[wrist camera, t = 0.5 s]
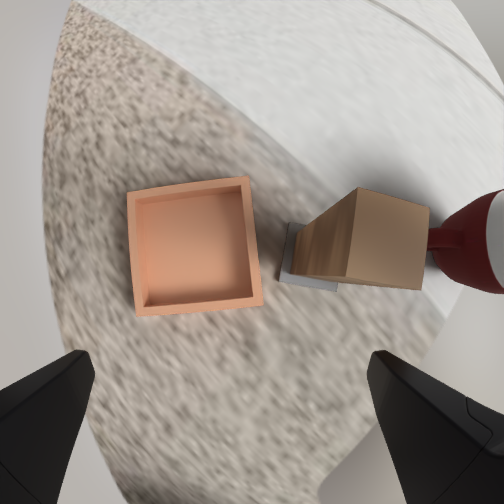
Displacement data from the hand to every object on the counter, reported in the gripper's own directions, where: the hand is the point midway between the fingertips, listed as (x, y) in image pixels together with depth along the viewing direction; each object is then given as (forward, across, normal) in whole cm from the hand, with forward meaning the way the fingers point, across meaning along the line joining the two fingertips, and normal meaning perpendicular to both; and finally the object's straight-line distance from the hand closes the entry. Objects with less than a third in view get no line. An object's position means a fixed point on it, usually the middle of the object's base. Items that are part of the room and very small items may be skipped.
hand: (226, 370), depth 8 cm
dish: (+17, +4, +2) cm, 18 cm away
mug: (+17, -20, +2) cm, 26 cm away
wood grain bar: (+17, -6, +2) cm, 18 cm away
